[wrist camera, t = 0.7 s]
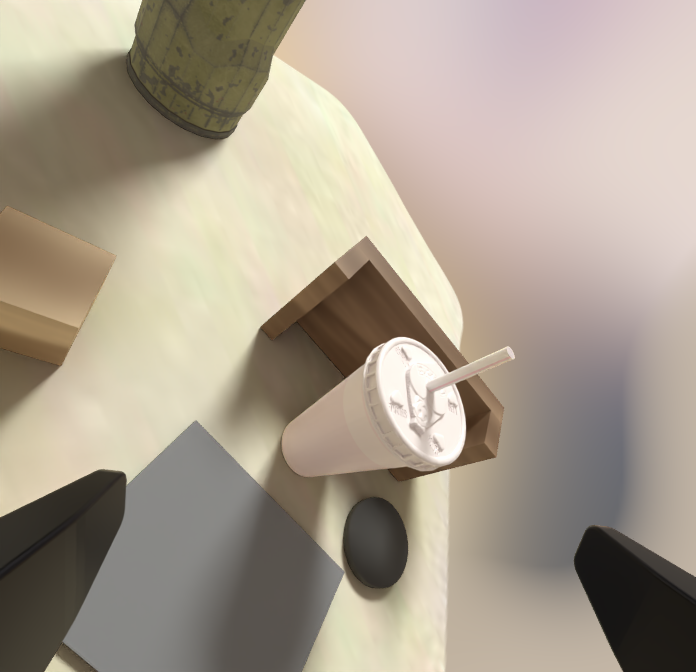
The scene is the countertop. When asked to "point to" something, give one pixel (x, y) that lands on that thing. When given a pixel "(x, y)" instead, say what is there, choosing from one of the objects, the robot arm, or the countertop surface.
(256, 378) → the countertop surface
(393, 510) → the dark grey disc
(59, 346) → the oak cube
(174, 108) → the thermos
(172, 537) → the mat
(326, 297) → the cubby
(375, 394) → the smoothie
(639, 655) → the robot arm
